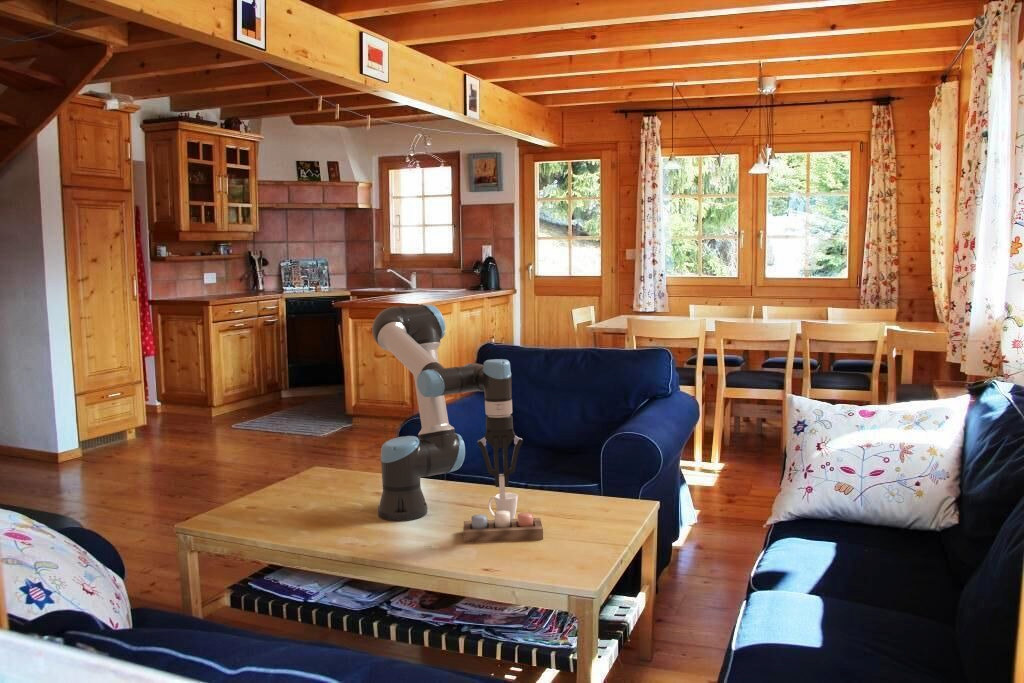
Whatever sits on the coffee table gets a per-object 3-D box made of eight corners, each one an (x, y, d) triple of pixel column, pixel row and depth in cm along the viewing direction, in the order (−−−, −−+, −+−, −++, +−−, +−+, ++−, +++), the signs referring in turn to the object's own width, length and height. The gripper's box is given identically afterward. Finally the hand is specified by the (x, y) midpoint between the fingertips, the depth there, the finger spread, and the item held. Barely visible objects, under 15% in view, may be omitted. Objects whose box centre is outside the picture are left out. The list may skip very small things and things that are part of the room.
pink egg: (518, 531, 244) (517, 517, 244) (517, 526, 248) (517, 512, 248) (534, 530, 244) (533, 516, 244) (532, 525, 249) (532, 512, 248)
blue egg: (471, 533, 243) (471, 519, 243) (471, 528, 248) (471, 514, 247) (487, 532, 244) (487, 519, 243) (487, 527, 248) (486, 514, 248)
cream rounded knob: (495, 529, 244) (494, 515, 243) (494, 524, 248) (494, 510, 248) (510, 528, 244) (510, 514, 243) (510, 523, 248) (509, 510, 248)
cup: (510, 527, 253) (509, 500, 252) (482, 522, 259) (481, 495, 258) (523, 520, 259) (522, 494, 258) (496, 515, 264) (495, 489, 264)
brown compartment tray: (463, 542, 241) (463, 532, 240) (464, 531, 251) (463, 521, 250) (543, 539, 242) (542, 528, 241) (540, 527, 252) (540, 517, 251)
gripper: (475, 418, 238) (479, 502, 241) (523, 416, 239) (526, 500, 241) (475, 413, 246) (479, 495, 248) (521, 411, 247) (524, 493, 249)
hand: (502, 497), depth 245 cm, fingers closed
